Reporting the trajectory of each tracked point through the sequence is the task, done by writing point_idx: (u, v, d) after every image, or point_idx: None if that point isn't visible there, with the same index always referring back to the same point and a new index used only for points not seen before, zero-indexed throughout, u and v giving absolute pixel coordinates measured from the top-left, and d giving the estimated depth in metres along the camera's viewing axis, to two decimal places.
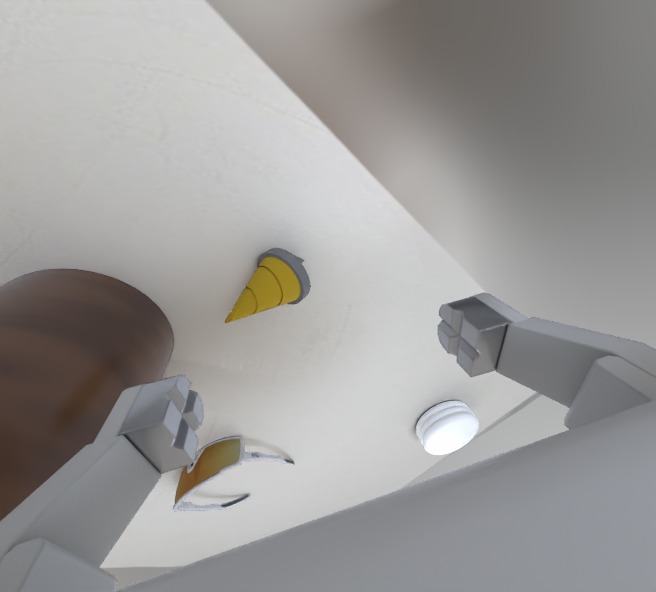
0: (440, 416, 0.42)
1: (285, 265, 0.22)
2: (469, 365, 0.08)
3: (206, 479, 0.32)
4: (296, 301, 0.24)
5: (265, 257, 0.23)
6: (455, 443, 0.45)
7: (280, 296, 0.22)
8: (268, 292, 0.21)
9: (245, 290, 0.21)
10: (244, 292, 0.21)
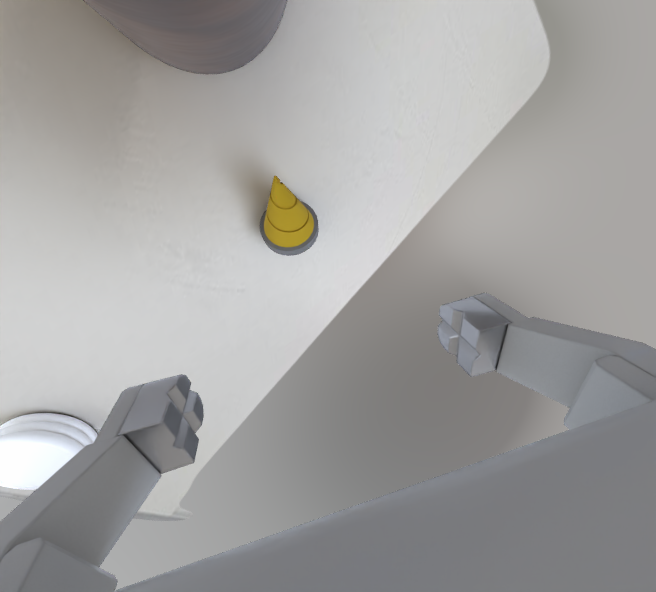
0: (71, 435, 0.31)
1: (310, 232, 0.24)
2: (469, 366, 0.08)
3: None
4: (269, 242, 0.24)
5: (309, 211, 0.24)
6: (13, 475, 0.30)
7: (286, 230, 0.22)
8: (294, 219, 0.21)
9: (293, 195, 0.21)
10: (293, 194, 0.21)
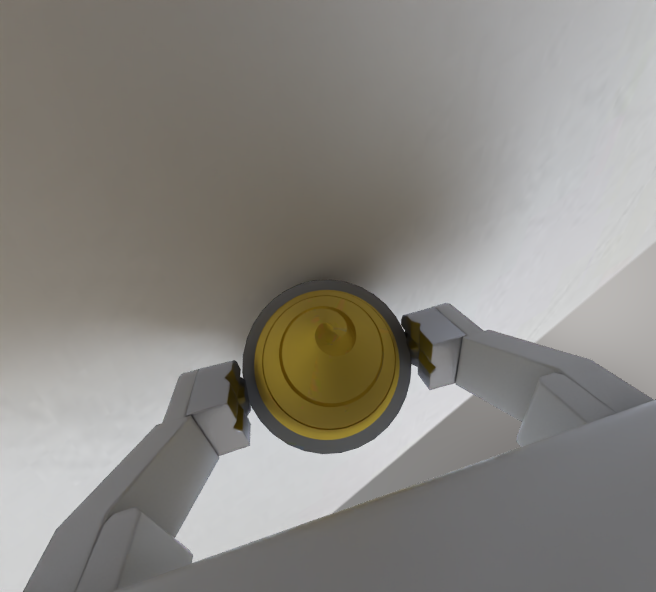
0: None
1: (394, 391, 0.08)
2: (427, 378, 0.08)
3: None
4: (270, 421, 0.08)
5: (383, 316, 0.09)
6: None
7: (333, 425, 0.06)
8: (367, 406, 0.06)
9: (372, 323, 0.05)
10: (372, 325, 0.05)
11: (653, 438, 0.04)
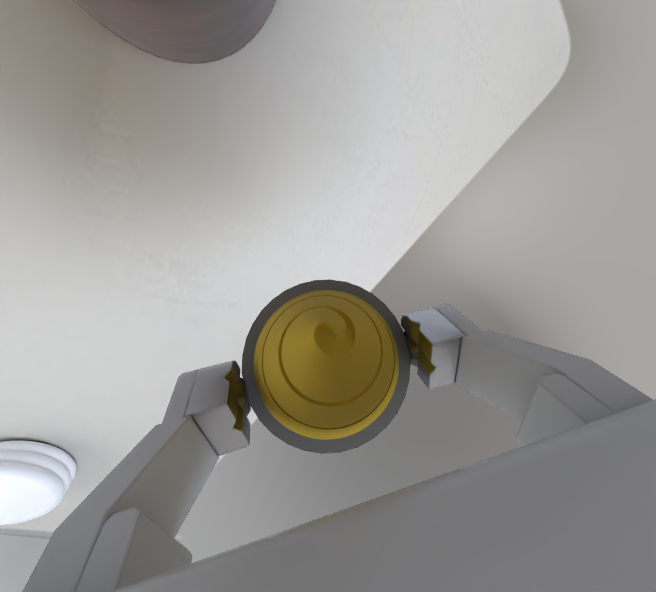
0: (44, 464, 0.28)
1: (393, 391, 0.08)
2: (427, 378, 0.08)
3: None
4: (269, 421, 0.08)
5: (382, 316, 0.09)
6: None
7: (332, 425, 0.06)
8: (367, 406, 0.06)
9: (371, 323, 0.05)
10: (371, 325, 0.05)
11: (653, 438, 0.04)
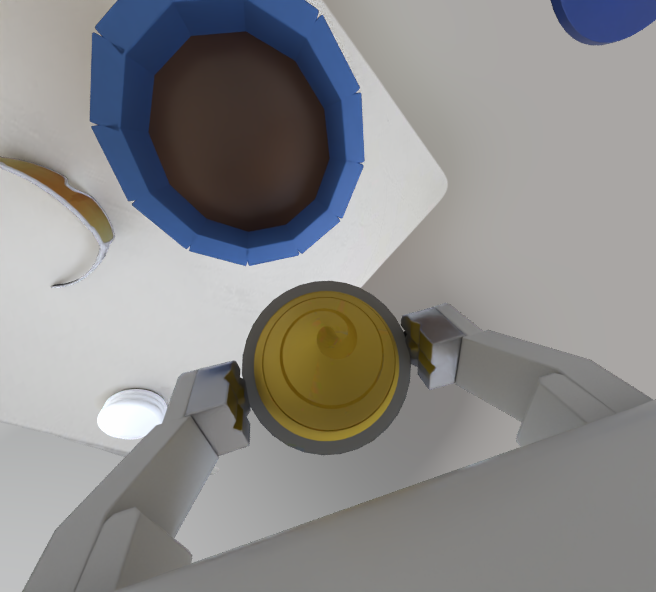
0: (155, 403, 0.48)
1: (394, 392, 0.08)
2: (427, 378, 0.08)
3: (80, 213, 0.29)
4: (270, 423, 0.08)
5: (383, 317, 0.09)
6: (118, 428, 0.47)
7: None
8: (368, 407, 0.06)
9: (372, 325, 0.05)
10: (372, 327, 0.05)
11: (653, 438, 0.04)
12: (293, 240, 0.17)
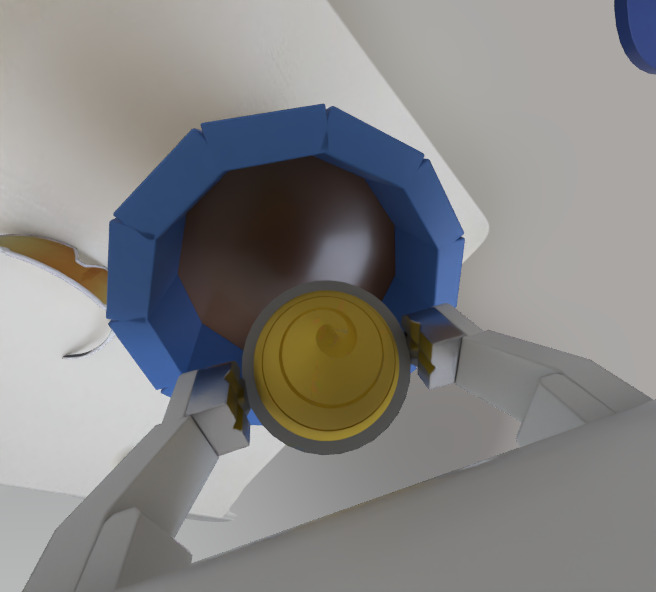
0: None
1: (393, 392, 0.08)
2: (427, 378, 0.08)
3: (92, 293, 0.26)
4: (270, 422, 0.08)
5: (383, 316, 0.09)
6: None
7: (333, 426, 0.06)
8: (368, 407, 0.06)
9: (372, 324, 0.05)
10: (372, 326, 0.05)
11: (653, 438, 0.04)
12: None
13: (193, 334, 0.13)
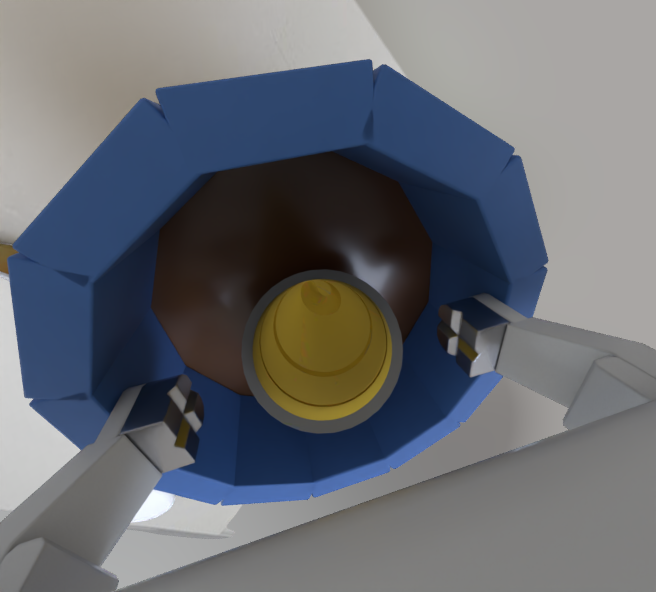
0: None
1: (386, 375, 0.08)
2: (468, 366, 0.08)
3: None
4: (267, 403, 0.08)
5: (377, 304, 0.09)
6: None
7: None
8: (358, 382, 0.06)
9: (361, 302, 0.06)
10: (361, 304, 0.05)
11: (653, 438, 0.04)
12: (385, 460, 0.11)
13: None
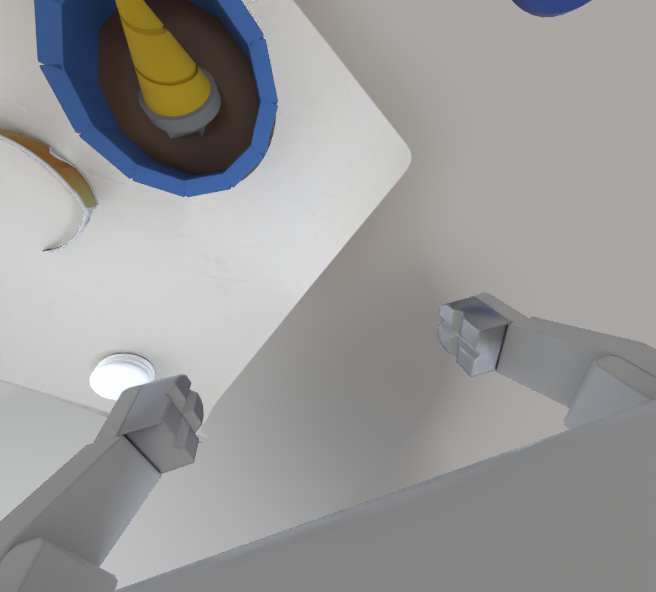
0: (143, 366, 0.52)
1: (203, 98, 0.18)
2: (469, 366, 0.08)
3: (63, 178, 0.33)
4: (148, 110, 0.18)
5: (206, 75, 0.19)
6: (109, 390, 0.51)
7: (159, 80, 0.16)
8: (165, 61, 0.16)
9: (161, 23, 0.15)
10: (158, 19, 0.15)
11: (653, 438, 0.04)
12: (223, 174, 0.20)
13: (108, 122, 0.19)
